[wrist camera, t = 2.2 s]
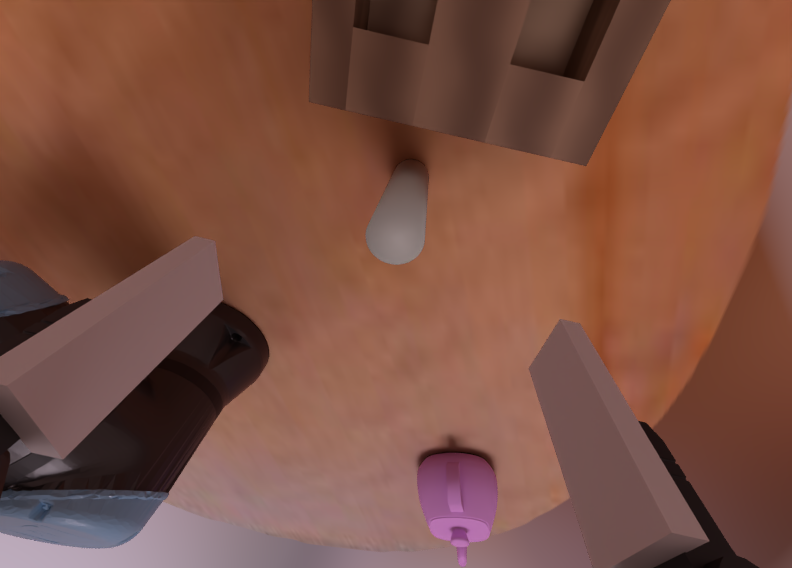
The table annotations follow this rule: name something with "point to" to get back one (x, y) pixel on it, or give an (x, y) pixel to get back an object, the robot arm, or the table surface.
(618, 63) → the block
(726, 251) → the table surface
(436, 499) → the teapot
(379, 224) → the pin
